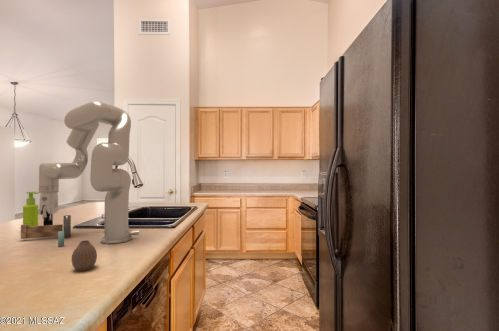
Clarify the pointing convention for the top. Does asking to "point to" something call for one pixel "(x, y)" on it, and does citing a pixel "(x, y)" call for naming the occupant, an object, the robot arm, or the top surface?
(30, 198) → the soap dispenser
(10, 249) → the top surface
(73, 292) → the top surface
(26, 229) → the gate
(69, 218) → the hinge post
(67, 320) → the top surface
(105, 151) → the robot arm
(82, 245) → the vase
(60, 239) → the post
